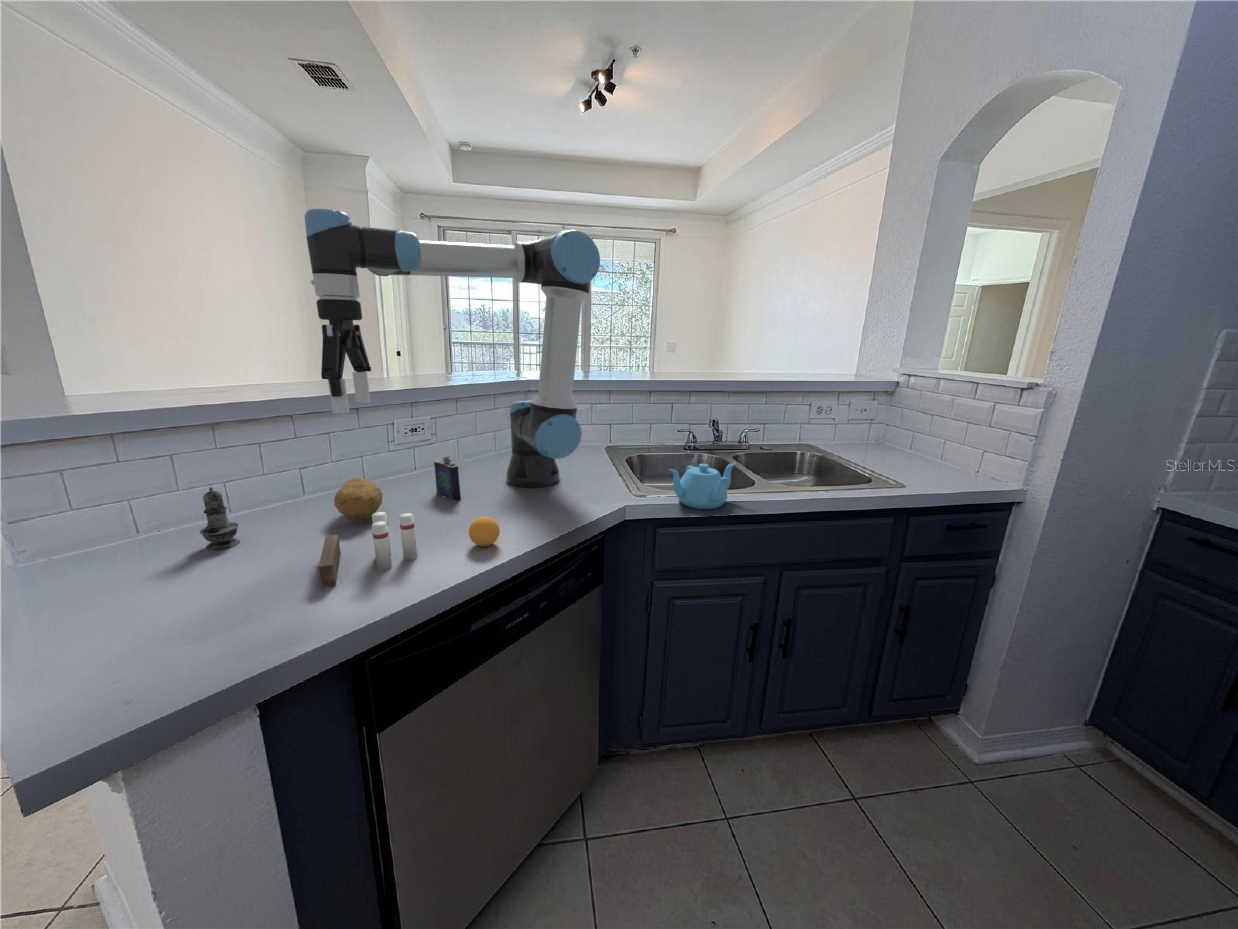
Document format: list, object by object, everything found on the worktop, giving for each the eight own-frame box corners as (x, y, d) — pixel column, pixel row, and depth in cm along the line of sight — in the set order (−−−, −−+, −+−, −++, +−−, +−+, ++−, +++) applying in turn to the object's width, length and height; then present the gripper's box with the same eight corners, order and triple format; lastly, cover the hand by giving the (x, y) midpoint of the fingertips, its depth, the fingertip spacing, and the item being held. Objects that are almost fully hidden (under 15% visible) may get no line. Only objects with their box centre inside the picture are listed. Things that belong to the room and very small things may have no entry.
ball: (496, 536, 102) (495, 510, 100) (503, 548, 97) (502, 520, 95) (467, 541, 99) (465, 514, 98) (472, 553, 94) (470, 525, 92)
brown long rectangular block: (340, 553, 93) (337, 534, 91) (335, 586, 81) (332, 564, 80) (328, 555, 92) (325, 536, 91) (321, 588, 81) (318, 566, 79)
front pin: (417, 553, 94) (413, 512, 91) (417, 558, 91) (413, 517, 89) (402, 555, 93) (398, 514, 90) (403, 561, 90) (399, 519, 88)
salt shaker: (239, 536, 99) (227, 480, 96) (244, 545, 95) (232, 487, 92) (202, 544, 95) (188, 486, 92) (205, 554, 91) (191, 494, 88)
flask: (434, 493, 127) (431, 454, 124) (444, 491, 129) (441, 452, 126) (454, 502, 121) (451, 461, 118) (464, 499, 123) (462, 458, 120)
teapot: (681, 490, 135) (684, 454, 132) (736, 498, 129) (739, 461, 127) (666, 507, 122) (668, 468, 119) (725, 516, 116) (729, 476, 113)
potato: (335, 532, 102) (329, 496, 100) (338, 509, 114) (333, 477, 112) (385, 524, 106) (381, 490, 104) (383, 503, 118) (380, 472, 116)
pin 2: (391, 563, 90) (387, 520, 87) (392, 569, 87) (387, 525, 85) (376, 565, 89) (371, 522, 86) (376, 571, 86) (371, 527, 84)
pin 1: (391, 551, 94) (386, 511, 92) (391, 557, 92) (386, 515, 89) (376, 554, 93) (371, 512, 91) (376, 559, 91) (371, 517, 88)
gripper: (340, 301, 105) (353, 398, 111) (287, 294, 81) (307, 418, 87) (377, 302, 106) (388, 398, 112) (335, 296, 83) (352, 418, 89)
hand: (353, 407), depth 100 cm, fingers open, 13 cm apart
